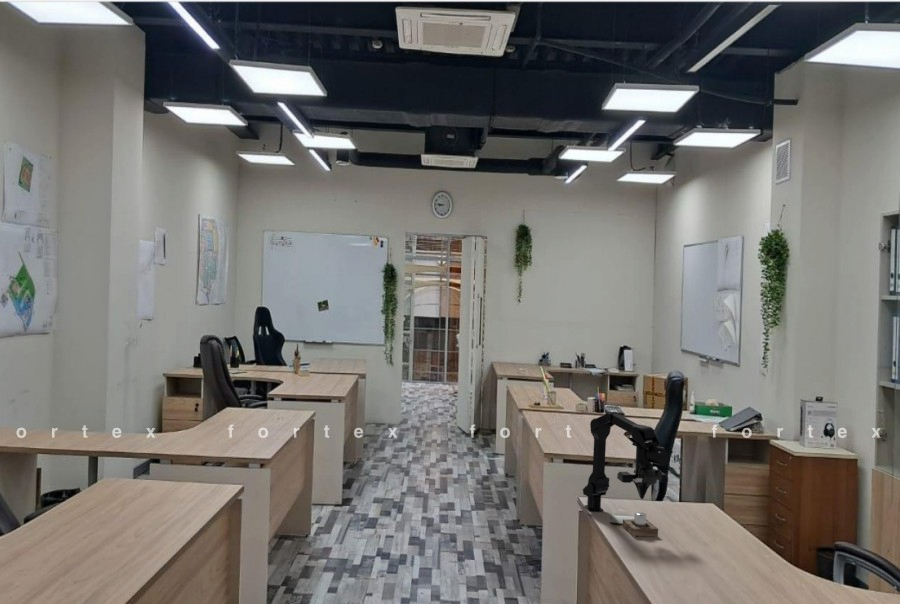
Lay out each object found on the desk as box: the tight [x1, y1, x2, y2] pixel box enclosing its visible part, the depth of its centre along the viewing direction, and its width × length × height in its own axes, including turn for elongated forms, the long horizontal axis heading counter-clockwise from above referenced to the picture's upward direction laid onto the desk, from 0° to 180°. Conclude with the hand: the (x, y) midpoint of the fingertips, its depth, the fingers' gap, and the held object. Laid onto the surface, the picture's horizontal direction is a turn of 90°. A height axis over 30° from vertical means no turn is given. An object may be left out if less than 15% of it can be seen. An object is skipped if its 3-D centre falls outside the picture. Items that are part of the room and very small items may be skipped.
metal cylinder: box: [633, 511, 647, 527], centre depth 247 cm, size 4×4×7 cm
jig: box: [622, 518, 659, 538], centre depth 247 cm, size 10×10×3 cm
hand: (641, 498), depth 247 cm, fingers closed
